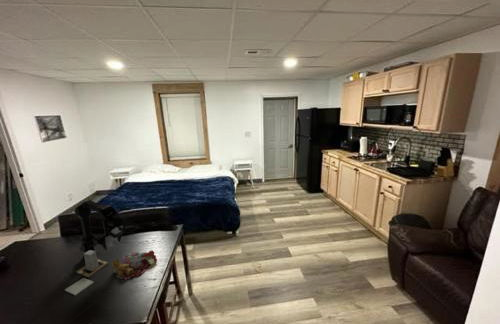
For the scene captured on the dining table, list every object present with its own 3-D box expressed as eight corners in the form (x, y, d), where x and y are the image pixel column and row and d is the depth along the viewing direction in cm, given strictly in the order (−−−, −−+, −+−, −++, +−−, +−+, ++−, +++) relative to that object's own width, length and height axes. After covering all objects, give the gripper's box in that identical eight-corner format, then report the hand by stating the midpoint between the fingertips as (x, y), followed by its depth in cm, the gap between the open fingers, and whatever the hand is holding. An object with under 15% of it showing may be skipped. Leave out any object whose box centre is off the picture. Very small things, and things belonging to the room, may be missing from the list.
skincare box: (86, 269, 137) (82, 253, 135) (93, 265, 141) (89, 249, 139) (92, 271, 135) (89, 255, 133) (99, 266, 139) (96, 251, 137)
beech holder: (76, 272, 135) (76, 271, 134) (97, 260, 146) (96, 258, 146) (88, 277, 130) (87, 275, 130) (108, 264, 142) (108, 262, 142)
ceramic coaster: (64, 290, 120) (64, 289, 120) (83, 278, 130) (83, 277, 129) (75, 295, 117) (75, 294, 117) (93, 282, 126) (93, 281, 126)
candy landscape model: (129, 285, 124) (127, 271, 122) (106, 273, 134) (103, 261, 132) (162, 259, 146) (161, 247, 144) (140, 251, 156) (138, 240, 154)
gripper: (101, 234, 123) (106, 256, 126) (130, 219, 140) (133, 240, 143) (90, 230, 127) (95, 252, 131) (119, 217, 144) (122, 237, 147)
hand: (112, 245), depth 138 cm, fingers open, 9 cm apart
